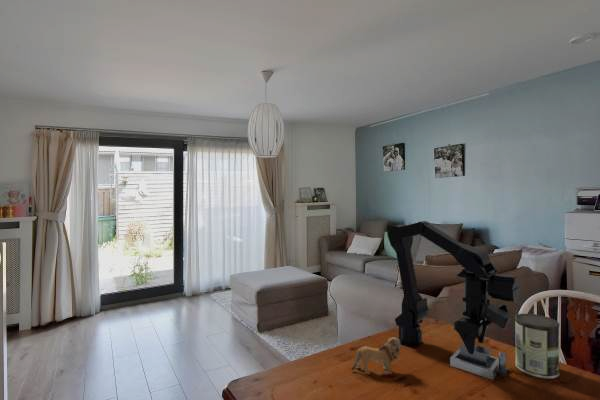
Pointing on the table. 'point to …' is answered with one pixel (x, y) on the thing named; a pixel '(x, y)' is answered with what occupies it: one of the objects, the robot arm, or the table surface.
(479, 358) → the block
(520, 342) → the coffee can
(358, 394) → the table surface
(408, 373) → the table surface
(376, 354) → the lion figurine
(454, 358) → the keeper cradle
